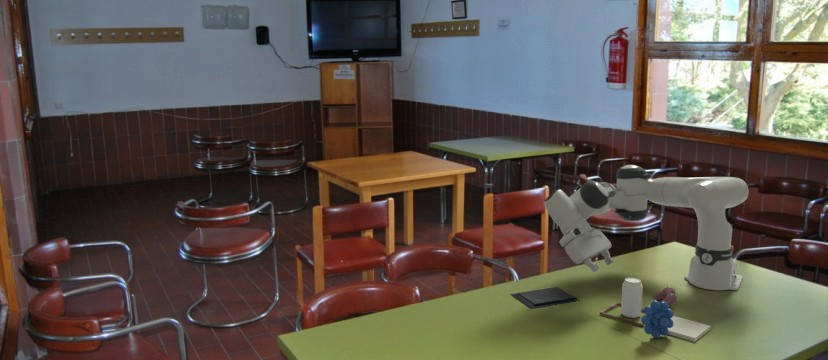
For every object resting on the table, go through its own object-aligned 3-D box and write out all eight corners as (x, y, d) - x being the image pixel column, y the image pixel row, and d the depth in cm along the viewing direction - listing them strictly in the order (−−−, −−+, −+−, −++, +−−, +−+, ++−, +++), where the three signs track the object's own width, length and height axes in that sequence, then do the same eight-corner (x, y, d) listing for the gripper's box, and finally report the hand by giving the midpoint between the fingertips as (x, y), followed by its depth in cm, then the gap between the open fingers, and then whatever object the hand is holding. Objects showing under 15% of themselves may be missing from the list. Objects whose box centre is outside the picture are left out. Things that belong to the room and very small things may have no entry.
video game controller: (669, 315, 227) (681, 297, 225) (657, 308, 228) (668, 290, 226) (665, 303, 237) (676, 287, 235) (652, 297, 237) (663, 280, 235)
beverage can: (616, 313, 224) (618, 278, 222) (631, 310, 227) (634, 275, 224) (629, 320, 219) (631, 284, 216) (645, 317, 221) (647, 281, 219)
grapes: (650, 347, 200) (653, 307, 197) (635, 337, 206) (637, 299, 204) (682, 340, 204) (685, 302, 202) (666, 331, 210) (668, 294, 208)
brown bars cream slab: (617, 303, 232) (617, 300, 232) (710, 329, 212) (710, 325, 212) (599, 314, 224) (599, 311, 223) (694, 342, 203) (695, 338, 203)
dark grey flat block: (530, 305, 228) (508, 290, 242) (530, 311, 228) (508, 295, 242) (582, 297, 235) (558, 283, 249) (582, 303, 235) (558, 288, 249)
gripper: (587, 231, 240) (612, 264, 236) (556, 244, 226) (581, 279, 221) (600, 221, 236) (625, 254, 232) (569, 233, 222) (594, 269, 217)
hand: (603, 267), depth 226 cm, fingers open, 8 cm apart
